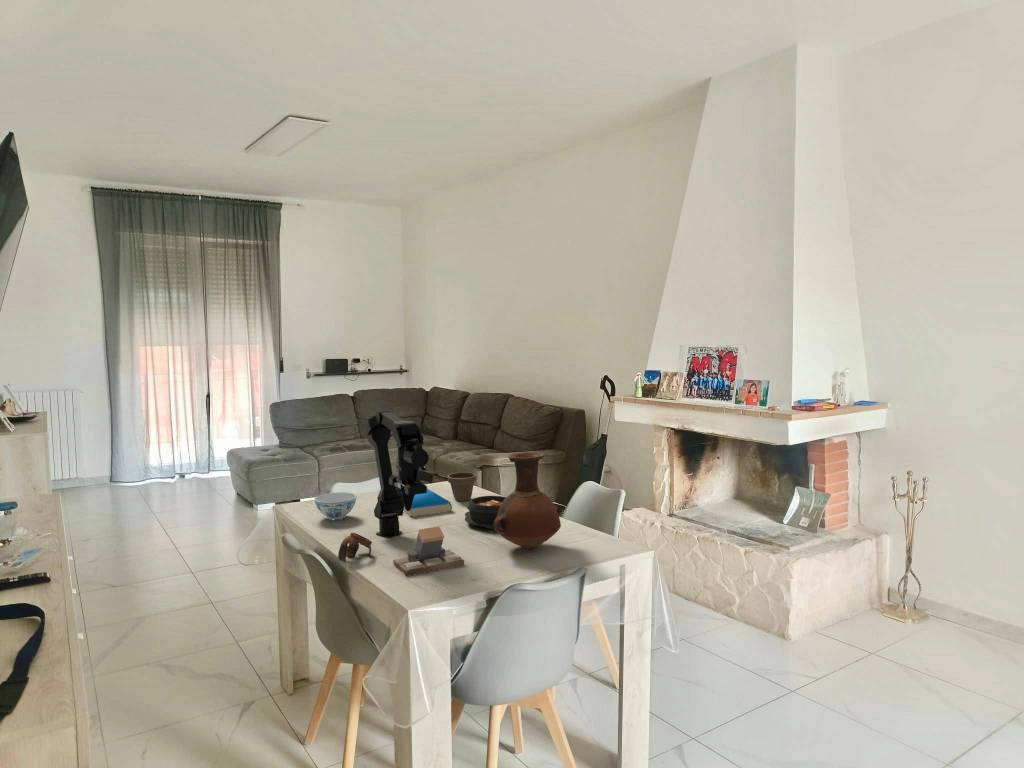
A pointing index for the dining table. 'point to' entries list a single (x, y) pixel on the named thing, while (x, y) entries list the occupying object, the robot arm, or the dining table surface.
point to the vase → (527, 506)
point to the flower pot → (462, 485)
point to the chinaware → (335, 504)
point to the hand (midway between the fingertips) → (408, 510)
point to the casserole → (483, 511)
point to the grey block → (429, 543)
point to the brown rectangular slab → (428, 562)
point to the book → (428, 504)
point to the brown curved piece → (353, 546)
